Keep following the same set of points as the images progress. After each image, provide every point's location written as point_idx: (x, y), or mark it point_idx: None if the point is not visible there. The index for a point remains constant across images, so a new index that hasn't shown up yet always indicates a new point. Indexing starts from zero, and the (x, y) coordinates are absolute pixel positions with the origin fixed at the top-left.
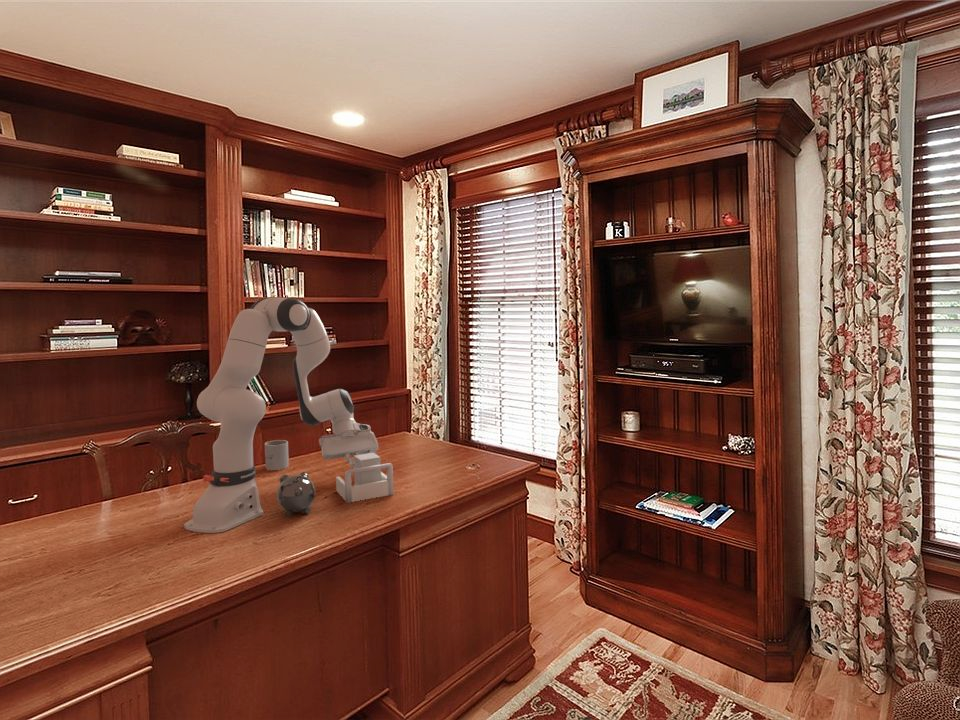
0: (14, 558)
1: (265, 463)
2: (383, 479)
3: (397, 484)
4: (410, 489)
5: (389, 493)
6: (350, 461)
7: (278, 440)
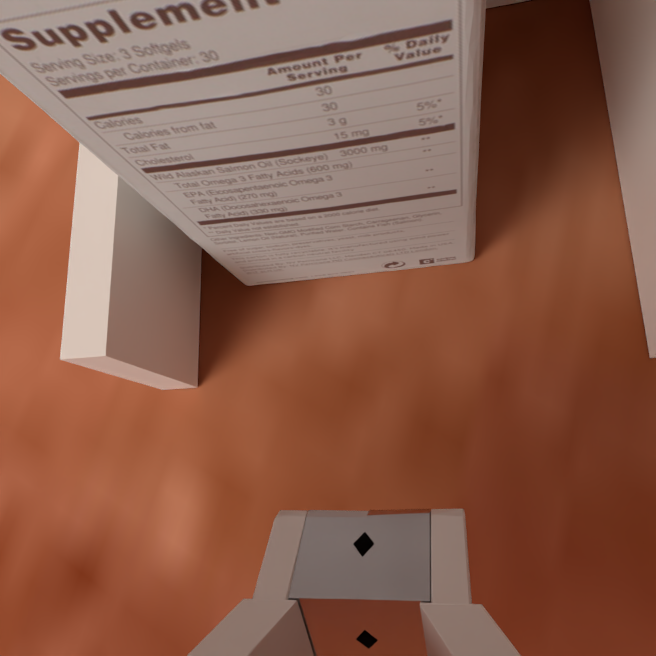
0: None
1: None
2: None
3: (32, 277)
4: (8, 107)
5: None
6: (465, 561)
7: None
